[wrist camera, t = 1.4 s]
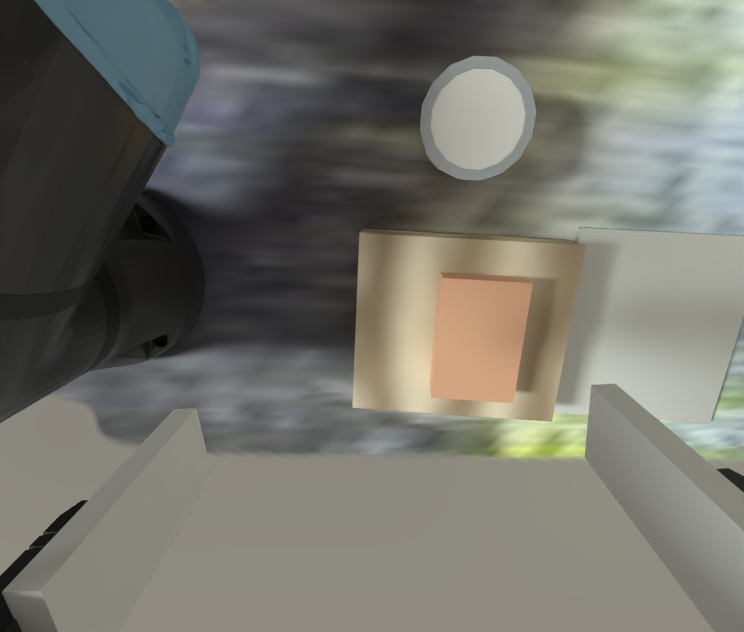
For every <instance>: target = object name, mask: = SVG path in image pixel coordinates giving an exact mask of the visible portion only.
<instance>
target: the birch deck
mask: <svg viewBox="0 0 744 632" xmlns="http://www.w3.org/2000/svg"><path fill="white" fill-rule="evenodd" d="M585 248H586V245H583V244H579V243H575V242H571V241H568V240H564V239H546V238H527V237H508V236H490V235H471V234H452V233H433V232H415V231H396V230H377V229H363V230H362V231H361V232H360V233H359V255H358V280H357V306H356V332H355V358H354V383H353V408H366V409H380V410H394V411H409V412H423V413H437V414H451V415H466V416H480V417H494V418H509V419H523V420H537V421H551V422H552V418H553V413H554V408H555V402H556V397H557V392H558V387H559V382H560V377H561V372H562V366H563V361H564V356H565V351H566V346H567V341H568V336H569V330H570V325H571V320H572V315H573V310H574V305H575V300H576V294H577V289H578V284H579V279H580V274H581V269H582V264H583V258H584V253H585ZM440 272H444V273H461V274H479V275H496V276H514V277H524V278H525V279H527V280H529V281H530V282H532V283H533V285H532V292H531V298H530V304H529V310H528V316H527V322H526V329H525V335H524V341H523V347H522V353H521V359H520V366H519V372H518V378H517V384H516V390H515V396H514V403H501V402H487V401H472V400H458V399H443V398H431V392H430V387H429V381H430V370H431V360H432V350H433V339H434V329H435V318H436V308H437V298H438V287H439V277H440Z"/></svg>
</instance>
